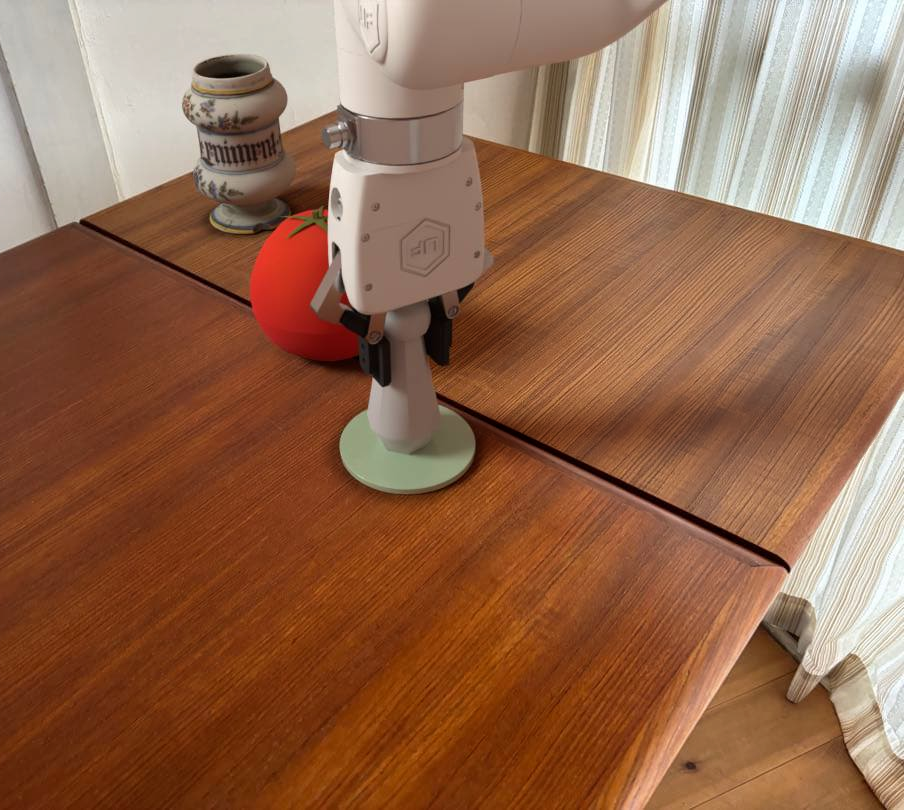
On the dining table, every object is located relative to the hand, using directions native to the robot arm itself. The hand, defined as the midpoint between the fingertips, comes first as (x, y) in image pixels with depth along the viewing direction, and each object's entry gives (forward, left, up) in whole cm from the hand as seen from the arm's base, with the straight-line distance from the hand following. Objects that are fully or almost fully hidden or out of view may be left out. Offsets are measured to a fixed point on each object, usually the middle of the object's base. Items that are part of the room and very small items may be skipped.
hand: (406, 364), depth 64 cm
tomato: (+11, -11, -9) cm, 18 cm away
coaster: (0, 0, -8) cm, 8 cm away
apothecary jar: (+30, -36, -9) cm, 48 cm away
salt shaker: (0, 0, -8) cm, 8 cm away
